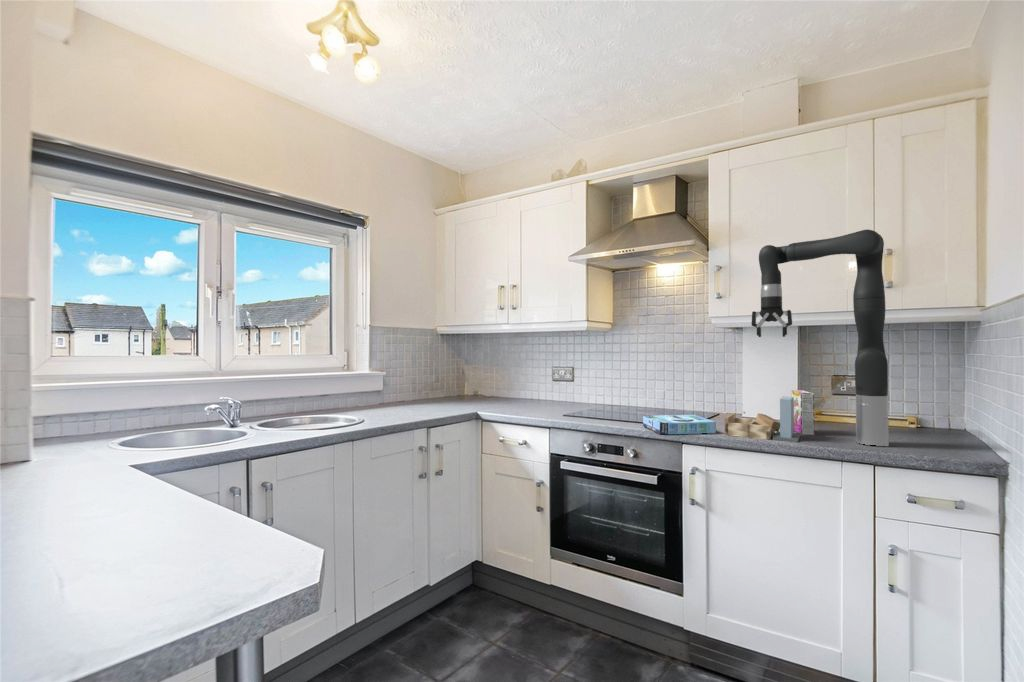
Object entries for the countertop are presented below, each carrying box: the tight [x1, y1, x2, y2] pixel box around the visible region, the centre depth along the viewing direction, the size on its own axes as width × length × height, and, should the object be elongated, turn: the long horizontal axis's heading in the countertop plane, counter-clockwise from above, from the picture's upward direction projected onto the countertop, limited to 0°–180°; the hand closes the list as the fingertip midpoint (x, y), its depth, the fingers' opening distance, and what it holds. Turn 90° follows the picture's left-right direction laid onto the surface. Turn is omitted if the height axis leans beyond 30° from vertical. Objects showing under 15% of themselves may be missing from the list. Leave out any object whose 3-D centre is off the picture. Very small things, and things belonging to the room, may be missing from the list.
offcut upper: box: [755, 413, 780, 433], centre depth 192 cm, size 4×8×4 cm, turn 16°
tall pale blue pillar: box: [779, 395, 795, 438], centre depth 189 cm, size 4×11×14 cm, turn 146°
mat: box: [772, 431, 802, 443], centre depth 189 cm, size 8×14×1 cm, turn 146°
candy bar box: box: [790, 389, 815, 436], centre depth 199 cm, size 11×5×16 cm, turn 168°
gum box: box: [642, 414, 717, 435], centre depth 207 cm, size 20×5×23 cm
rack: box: [724, 412, 776, 441], centre depth 196 cm, size 16×15×7 cm
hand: (771, 336), depth 200 cm, fingers open, 8 cm apart
